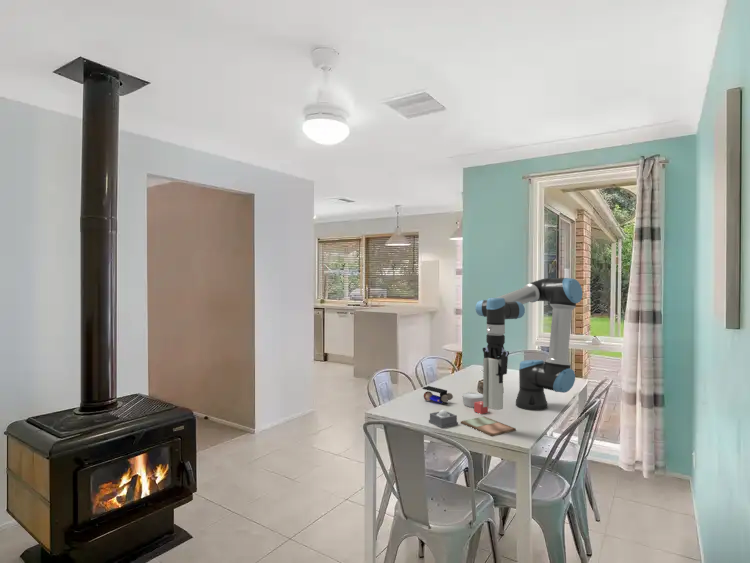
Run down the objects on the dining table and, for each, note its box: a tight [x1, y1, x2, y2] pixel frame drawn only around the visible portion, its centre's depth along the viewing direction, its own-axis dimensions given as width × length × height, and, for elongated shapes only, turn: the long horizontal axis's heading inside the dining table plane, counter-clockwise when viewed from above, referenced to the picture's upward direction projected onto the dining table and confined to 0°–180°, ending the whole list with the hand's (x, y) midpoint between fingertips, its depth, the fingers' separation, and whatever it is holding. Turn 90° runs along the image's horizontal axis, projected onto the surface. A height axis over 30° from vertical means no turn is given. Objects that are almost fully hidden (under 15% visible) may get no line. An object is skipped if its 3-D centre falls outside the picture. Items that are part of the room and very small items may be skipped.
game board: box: [460, 416, 517, 437], centre depth 196 cm, size 14×19×1 cm
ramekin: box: [461, 391, 483, 408], centre depth 229 cm, size 11×11×5 cm
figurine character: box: [422, 385, 454, 406], centre depth 234 cm, size 7×8×15 cm
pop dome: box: [436, 409, 450, 418], centre depth 200 cm, size 6×6×5 cm
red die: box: [473, 401, 489, 415], centre depth 217 cm, size 4×4×5 cm
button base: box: [428, 411, 459, 429], centre depth 200 cm, size 9×9×4 cm
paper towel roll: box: [482, 357, 504, 411], centre depth 192 cm, size 7×6×21 cm
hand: (495, 389), depth 191 cm, fingers closed on paper towel roll, 3 cm apart
